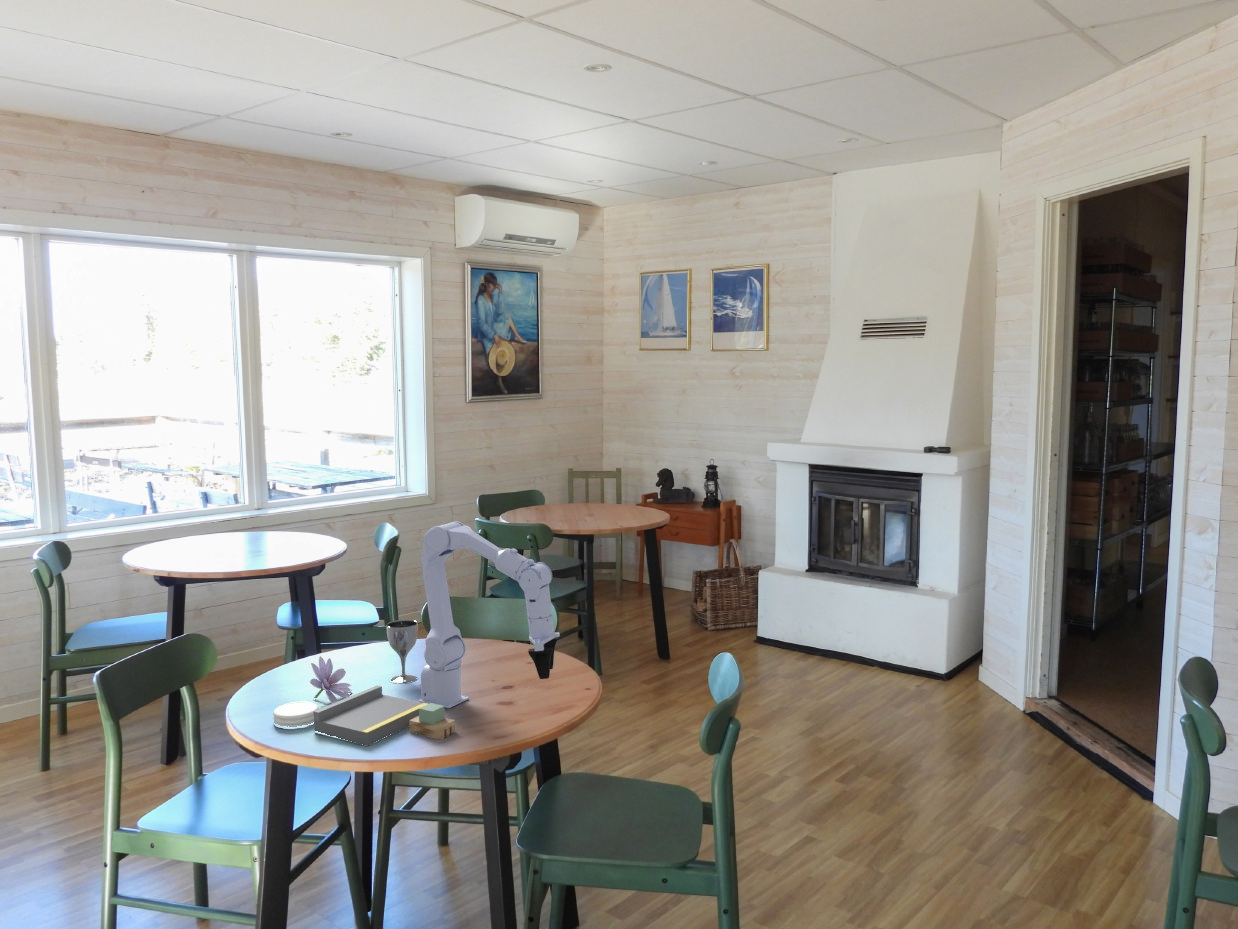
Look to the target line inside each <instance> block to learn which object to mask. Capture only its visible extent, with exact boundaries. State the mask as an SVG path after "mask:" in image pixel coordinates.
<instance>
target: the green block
mask: <svg viewBox="0 0 1238 929" xmlns="http://www.w3.org/2000/svg"><path fill="white" fill-rule="evenodd" d="M445 712H446V708H445V706H443V705H438V704H433V703H430V704H427V705H425V706H423V707H421V708H419V722H423V723H428V724H432V725H433V724H435V723H438V722H440V721H442V720H444V719H445V718H446V713H445Z"/></svg>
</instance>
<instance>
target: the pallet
mask: <svg viewBox="0 0 1238 929" xmlns="http://www.w3.org/2000/svg"><path fill="white" fill-rule="evenodd" d="M408 729H409V730H408V731H409V733H410V732H411V733H410V734H414V733H417V734H416V735H418V734H420V735H419V736H423V737H427V736H429V737H428V738H431V737H432V739H436V740H440V739H441V740H443V739H445V737H446V736H447V737H449V736H450V733H453V734H455V733H456V719H451V718H447V717H445V719H444V720H442V721H440V722H438V723H435V724H433V725H432V724H428V723H423V722H419V716H417V717H415V718H413V719H411V720H409V728H408ZM442 738H443V739H442Z"/></svg>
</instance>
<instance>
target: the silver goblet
mask: <svg viewBox="0 0 1238 929" xmlns="http://www.w3.org/2000/svg"><path fill="white" fill-rule="evenodd" d="M418 630H419V624H418V621H417V620H413V619H398V620H392V621H389V622H388V623H387V624H386V635H387V640H388V643H389V644H388V645H389V646H390V648H392V650H393V651H394V652H395V653H396V654H397V655H398V656H399V659H400V663H401V674H400V676H399V675H395V676H393V677H391V678H392V679H391V678H390V679H391V681H393V682H397V683H405V684H408V683H407V682H411V681H414V682H416V681H417V680H418V679H416V678H418V676H417V675H414V674H406V659H407V656H408V654H409V653H410V652H411V651H412V649H414V647H415V645H416V643H417V639H418V633H419V631H418ZM413 675H414V676H413ZM415 680H416V681H415ZM411 683H412V682H411Z"/></svg>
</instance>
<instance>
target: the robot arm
mask: <svg viewBox="0 0 1238 929" xmlns="http://www.w3.org/2000/svg"><path fill="white" fill-rule="evenodd" d="M422 541H423V547H422V549H421V554H420V564H421V570H422V578H423V584H424V591H425V598H426V603H427V609H428V617H429V618H428V619H429V624H430V630H429V633H428V634H427V636H426V638H425V650H424V653H423V655H424V657H423V658H424V661H425V663H426V665H424V667H423V668H422V670H421V674H420V695H421V698H420V699H419V701H418V702H420V703H427V704H430V703H433V704H438V705H443V706H445V709H451V708H453V707H455V706H457V705H459V704H461V703H462V702H463V703H464V702H466V701H468V700H469V699H470V696H468V695H462V675H461V674H462V669H461V668H462V667H461V665H462V664H461V663H462V658H464V656H465V654H466V651H467V646H466V642H465V641H464V639H463V637H462V634H461V630H460V629H459V627H457V626H456V625H455V623H454V618H453V611H452V606H451V605H452V604H451V599H450V590H449V584H448V578H447V571H446V563H445V562H446V560H447V559H448V558H449V557H450V555H452V553H453V552H454V551H456V550H462V549H463V550H464V549H467V550H469V551H471V552H473V553H475V554H476V555H479V556H481V557H483V558H485V559H487V560H489V561H491V562H493V563H494V566H495V569H496V570H497V571H498V572H500V573H502V574H504V575H506V576H507V577H509V578H511V579H512V580H514V581H516V582H517V583H518V585H519V588H521V589H522V591H523V592H524V593H523V594H524V598H525V604H526V605H525V606H526V614H527V623H528V631H529V636H528V640H529V641H530V642H531V643H532V644H533V646H534V647H533V648H528V651H527V652H528V654H529V655H528V656H530V658H531V660H532V661H533V663H534V665H535V669H536V673H537V676H538V678H539V679H540V680H545V679H546V680H547V679H549V678H550V676H551V675H550V674H551V670H553V669H554V659H555V658H554V657H555V650H556V644H557V642H558V638H559V637H560V635H561V634H560V632H555V627H554V619H553V611H552V602H551V601H552V600H551V595H550V594H551V593H550V592H551V590H550V584H551V582H552V579H553V572H552V570H551V567H549V566H548V565H547V564H546V563H545V562H541V561H538V562H535V560H534V559H532V558H527V557H526V556H523V555H521V554H520V553H519V552H518V549H516V548H514V547H513V548H504V549H501V548H500V547H498V546H497V545H496V544H494V543H492V542H491V541H489V540H488V539H486V538H484V537H483V536H481V535H480V534H478V533H477V532H475V531H474V530H473V529H472V528H471V527H470V526H469V525H466V524H464V523H463V522H461V521H458V520H453V521H450V522H449V523H445V524H441V525H436V526H435V525H434V526H432V527H431V528H429V529H428V530H427V531H426V533H424V535H423V536H422Z"/></svg>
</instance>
